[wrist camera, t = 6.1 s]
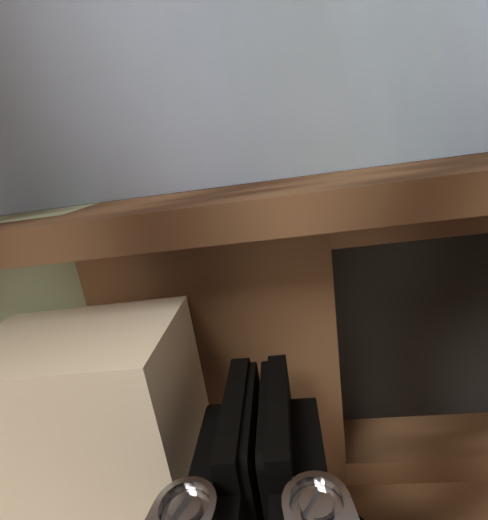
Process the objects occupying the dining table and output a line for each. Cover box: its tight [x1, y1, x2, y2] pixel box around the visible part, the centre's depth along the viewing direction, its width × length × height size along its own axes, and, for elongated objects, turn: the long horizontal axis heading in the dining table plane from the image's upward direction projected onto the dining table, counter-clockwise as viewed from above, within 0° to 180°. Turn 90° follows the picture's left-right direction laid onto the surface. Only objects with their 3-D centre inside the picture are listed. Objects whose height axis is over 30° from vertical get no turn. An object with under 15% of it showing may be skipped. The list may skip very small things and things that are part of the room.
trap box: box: [0, 152, 488, 520], centre depth 13 cm, size 26×12×4 cm, turn 98°
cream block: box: [0, 296, 209, 520], centre depth 11 cm, size 6×6×4 cm
